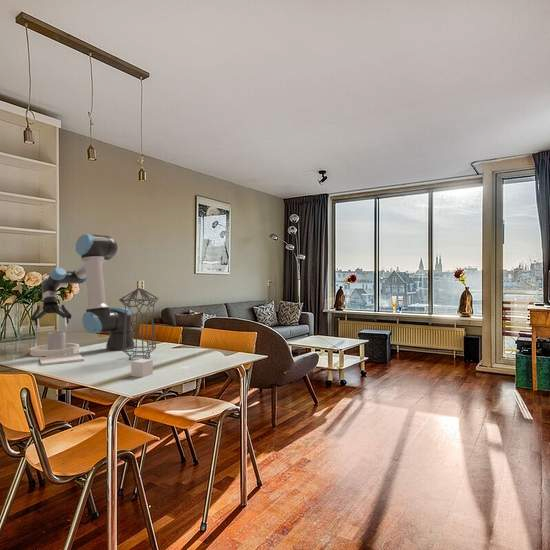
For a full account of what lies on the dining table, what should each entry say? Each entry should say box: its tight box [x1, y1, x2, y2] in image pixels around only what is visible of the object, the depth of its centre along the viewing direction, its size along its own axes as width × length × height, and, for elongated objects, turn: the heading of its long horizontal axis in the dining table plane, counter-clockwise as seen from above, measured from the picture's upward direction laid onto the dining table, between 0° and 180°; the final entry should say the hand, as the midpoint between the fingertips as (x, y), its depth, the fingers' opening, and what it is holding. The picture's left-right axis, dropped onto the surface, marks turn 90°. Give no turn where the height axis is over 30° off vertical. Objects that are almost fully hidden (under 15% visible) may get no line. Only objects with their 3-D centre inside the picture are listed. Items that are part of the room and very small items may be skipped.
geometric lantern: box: [118, 287, 160, 361], centre depth 202 cm, size 16×16×35 cm
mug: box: [47, 330, 66, 350], centre depth 221 cm, size 12×8×11 cm
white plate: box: [29, 342, 80, 357], centre depth 221 cm, size 23×23×3 cm
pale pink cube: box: [130, 358, 154, 378], centre depth 168 cm, size 6×6×6 cm
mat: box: [38, 352, 85, 366], centre depth 200 cm, size 18×18×1 cm
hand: (52, 328), depth 228 cm, fingers open, 13 cm apart
